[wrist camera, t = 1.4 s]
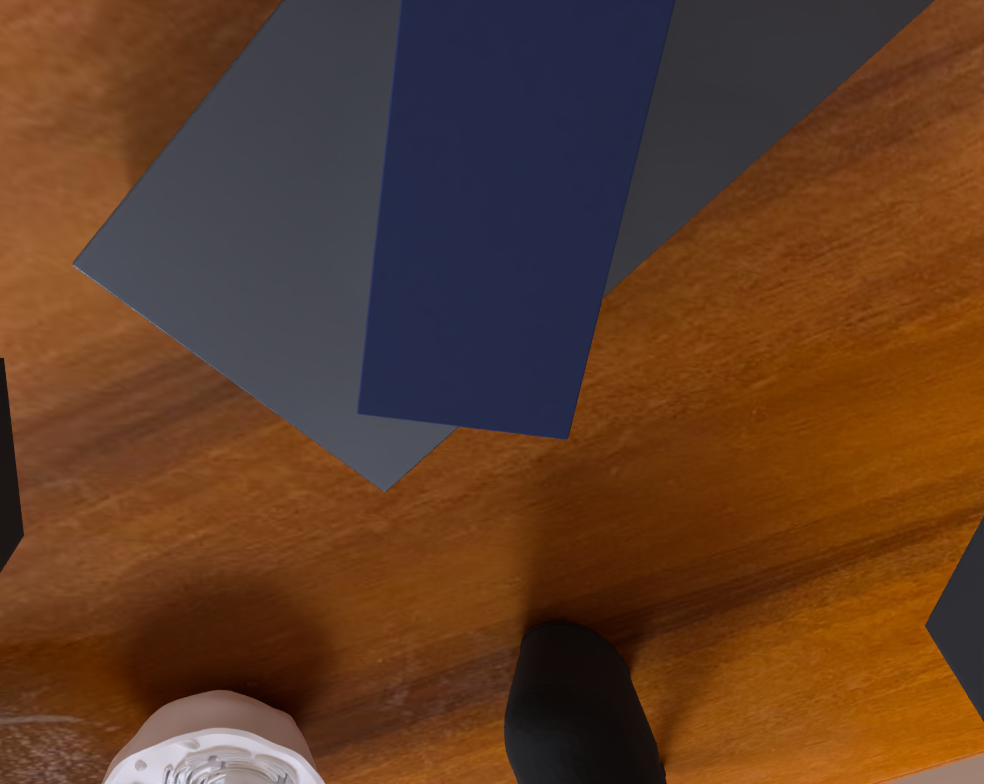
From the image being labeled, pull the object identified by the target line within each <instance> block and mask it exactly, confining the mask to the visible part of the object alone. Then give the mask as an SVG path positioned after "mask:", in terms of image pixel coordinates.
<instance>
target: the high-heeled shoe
mask: <svg viewBox="0 0 984 784" xmlns="http://www.w3.org/2000/svg"><path fill="white" fill-rule="evenodd" d="M504 736H505V747H506V752H507V755H508V759H509V762H510V764H511V766H512V769H513V771H514V773H515V776H516V779H517V782H518V784H667V783H666V778H665V777H666V773H665V769H664V766H663V764H661V763H660V762H659V754H658V749H657V744H656V741H655V738H654V736H653V733H652V731H651V728H650V726H649V723H648V721H647V718H646V716H645V713H644V711H643V708H642V706H641V703H640V701H639V699H638V696H637V694H636V691H635V689H634V686H633V684H632V681H631V678H630V674H629V671H628V668H627V665H626V663H625V662H624V660H623V658H622V657H621V656H620V655H619V654H618V653H617V651H616V650H615V649H614V648H613V647H612V646H611V645H610V644H609V643H608V642H606V641H605V640H604V639H603V638H602V637H600V636H599V635H598V634H596V633H595V632H593V631H591V630H589V629H587V628H585V627H582V626H579V625H577V624H573V623H568V622H551V623H545V624H542V625H539V626H536V627H534V628H532V629H530V630H529V631H528V632H527V633H526V635H525V636H524V638H523V640H522V643H521V647H520V655H519V659H518V662H517V666H516V670H515V674H514V678H513V682H512V685H511V689H510V694H509V698H508V703H507V707H506V712H505V724H504Z"/></svg>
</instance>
